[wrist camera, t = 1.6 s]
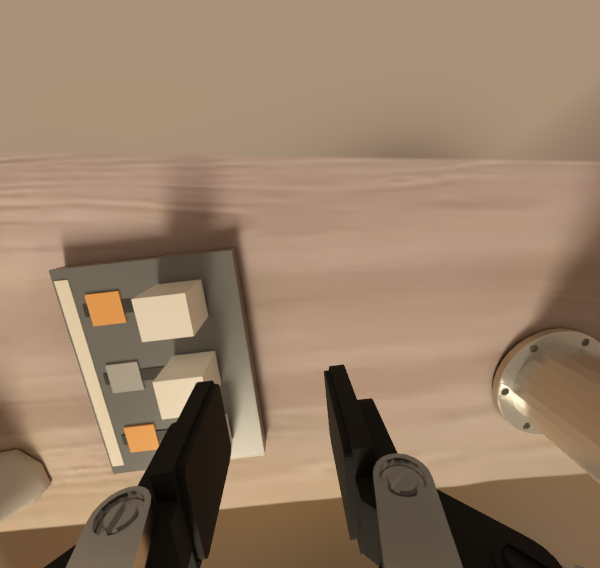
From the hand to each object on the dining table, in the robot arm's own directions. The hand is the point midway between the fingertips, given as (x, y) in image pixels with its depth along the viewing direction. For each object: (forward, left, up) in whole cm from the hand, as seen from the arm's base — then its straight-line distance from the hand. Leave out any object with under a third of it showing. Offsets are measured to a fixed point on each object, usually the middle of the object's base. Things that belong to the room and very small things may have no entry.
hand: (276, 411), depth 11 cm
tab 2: (+9, +7, -17) cm, 21 cm away
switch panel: (+12, +7, -19) cm, 24 cm away
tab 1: (+9, 0, -17) cm, 19 cm away
